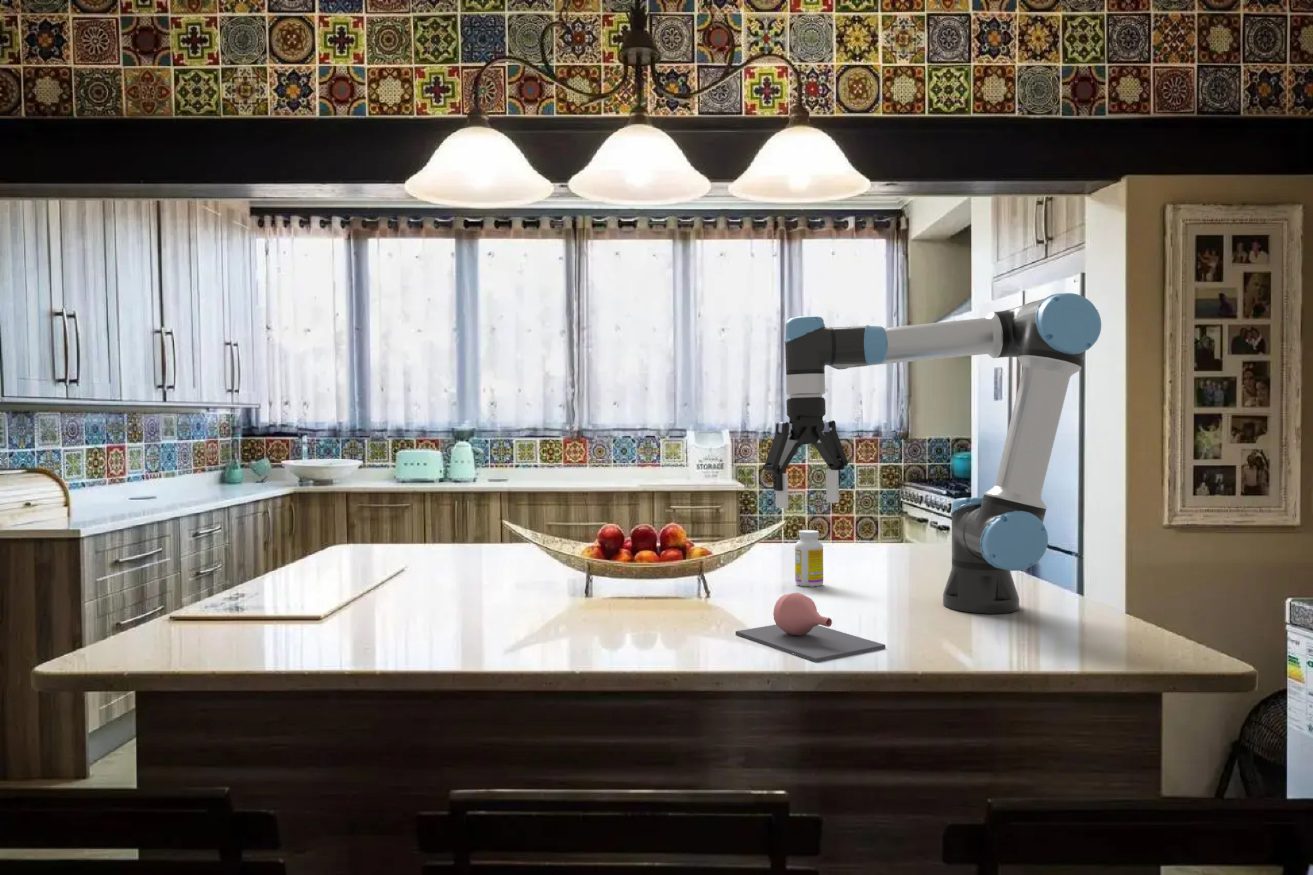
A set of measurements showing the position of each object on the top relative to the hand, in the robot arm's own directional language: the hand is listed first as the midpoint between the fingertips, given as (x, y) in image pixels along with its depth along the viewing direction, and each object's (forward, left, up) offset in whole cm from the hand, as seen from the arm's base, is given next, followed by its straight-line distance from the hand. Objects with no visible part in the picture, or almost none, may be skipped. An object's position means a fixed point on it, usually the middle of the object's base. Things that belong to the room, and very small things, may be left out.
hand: (808, 505), depth 175 cm
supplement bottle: (+12, -37, -23) cm, 45 cm away
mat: (-5, +14, -23) cm, 27 cm away
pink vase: (+1, +12, -19) cm, 22 cm away
